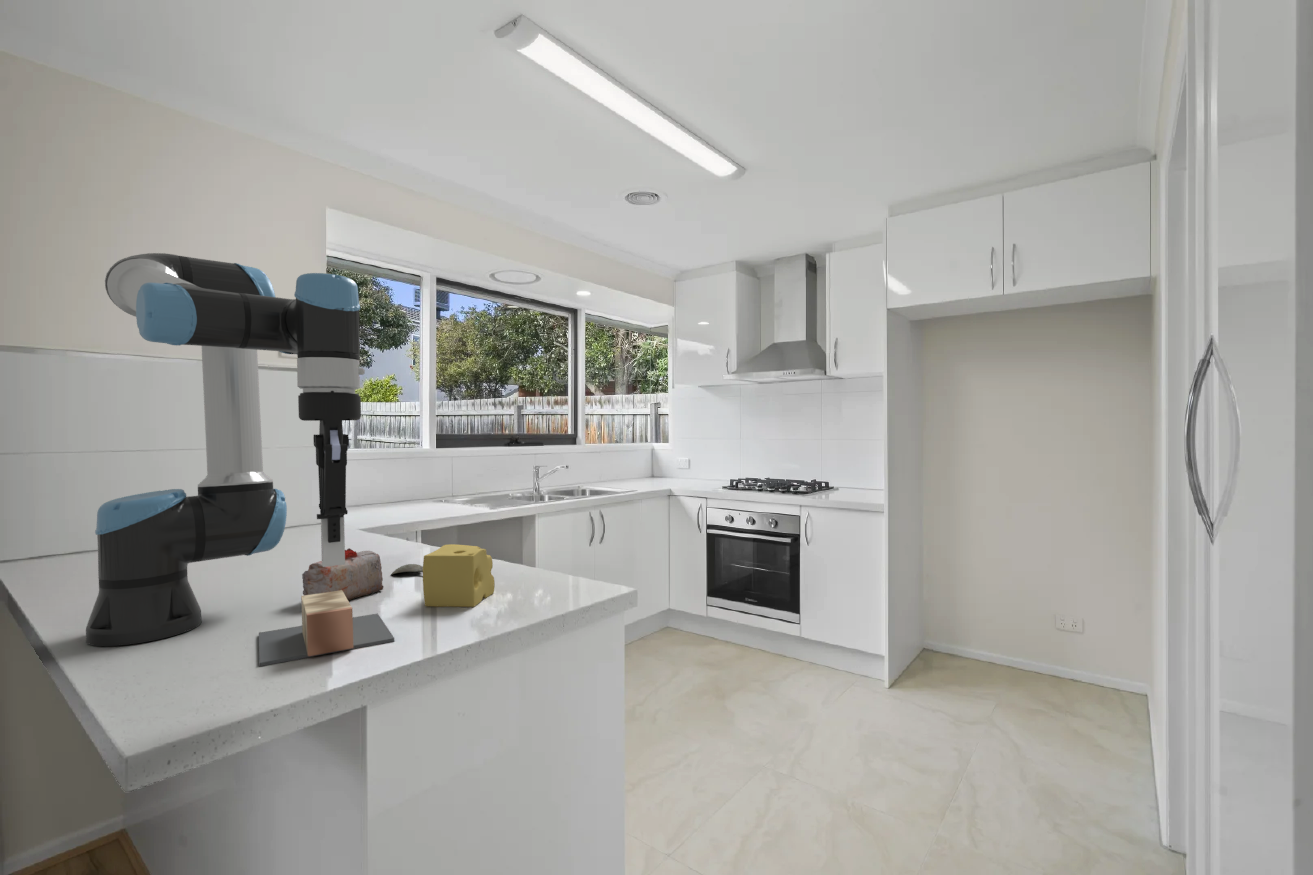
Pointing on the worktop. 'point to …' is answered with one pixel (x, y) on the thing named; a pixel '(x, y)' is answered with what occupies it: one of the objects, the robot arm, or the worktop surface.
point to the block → (327, 622)
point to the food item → (346, 576)
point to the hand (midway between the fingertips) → (333, 564)
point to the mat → (292, 645)
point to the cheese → (457, 576)
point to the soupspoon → (409, 568)
